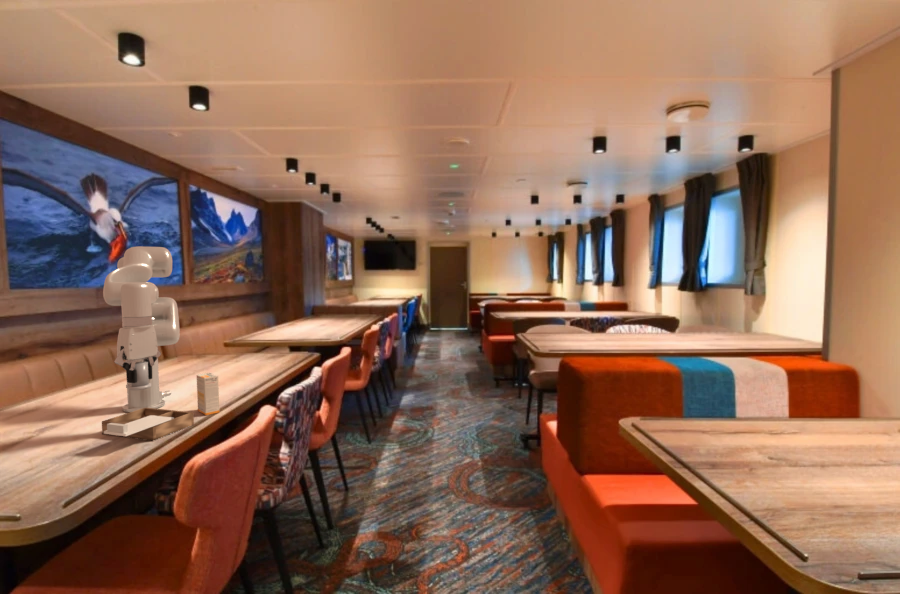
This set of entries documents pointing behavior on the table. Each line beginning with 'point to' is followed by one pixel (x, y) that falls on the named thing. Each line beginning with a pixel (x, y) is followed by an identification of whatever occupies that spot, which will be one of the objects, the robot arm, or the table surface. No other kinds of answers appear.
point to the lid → (135, 425)
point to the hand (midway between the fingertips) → (139, 380)
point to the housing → (176, 423)
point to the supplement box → (208, 393)
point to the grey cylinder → (140, 377)
